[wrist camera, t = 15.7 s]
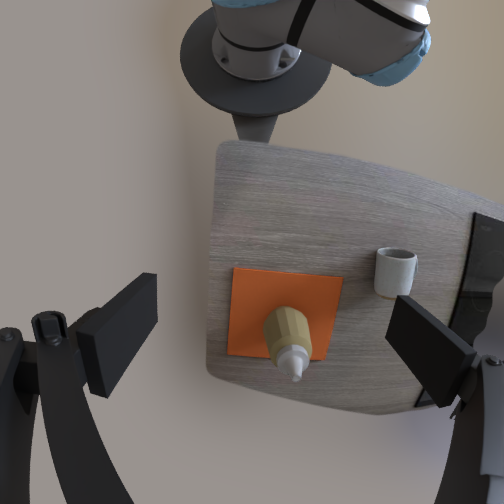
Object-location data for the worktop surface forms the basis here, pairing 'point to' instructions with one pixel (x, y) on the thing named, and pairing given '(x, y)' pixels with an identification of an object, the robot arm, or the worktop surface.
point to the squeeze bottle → (288, 341)
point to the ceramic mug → (394, 272)
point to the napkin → (275, 295)
